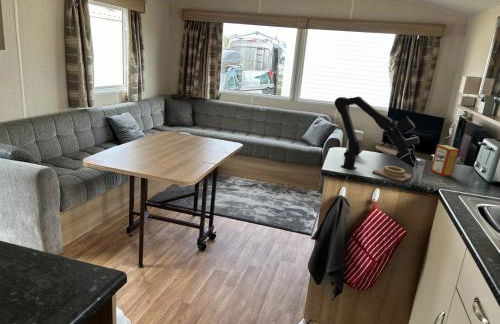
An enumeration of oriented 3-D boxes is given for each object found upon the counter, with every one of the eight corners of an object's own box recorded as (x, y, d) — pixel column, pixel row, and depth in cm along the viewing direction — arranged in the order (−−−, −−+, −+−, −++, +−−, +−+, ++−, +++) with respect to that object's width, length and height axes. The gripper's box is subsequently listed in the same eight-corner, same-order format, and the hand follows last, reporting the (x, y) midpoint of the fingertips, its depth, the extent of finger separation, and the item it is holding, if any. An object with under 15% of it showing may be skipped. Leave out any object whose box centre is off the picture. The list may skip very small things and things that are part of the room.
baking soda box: (451, 176, 207) (459, 149, 202) (441, 175, 205) (449, 148, 200) (439, 170, 215) (446, 144, 211) (430, 170, 214) (437, 143, 209)
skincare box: (345, 155, 225) (349, 130, 221) (345, 152, 232) (349, 128, 227) (358, 157, 224) (364, 132, 219) (358, 155, 230) (363, 130, 226)
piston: (417, 186, 180) (423, 161, 176) (407, 183, 183) (414, 159, 179) (420, 185, 183) (427, 160, 179) (411, 182, 186) (417, 157, 182)
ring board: (401, 182, 183) (403, 175, 182) (372, 173, 194) (373, 166, 193) (413, 177, 195) (415, 171, 194) (385, 168, 205) (386, 162, 204)
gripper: (408, 132, 171) (428, 160, 169) (414, 127, 187) (432, 153, 185) (387, 145, 177) (406, 172, 175) (394, 139, 193) (412, 164, 190)
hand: (415, 165), depth 181 cm, fingers open, 9 cm apart
